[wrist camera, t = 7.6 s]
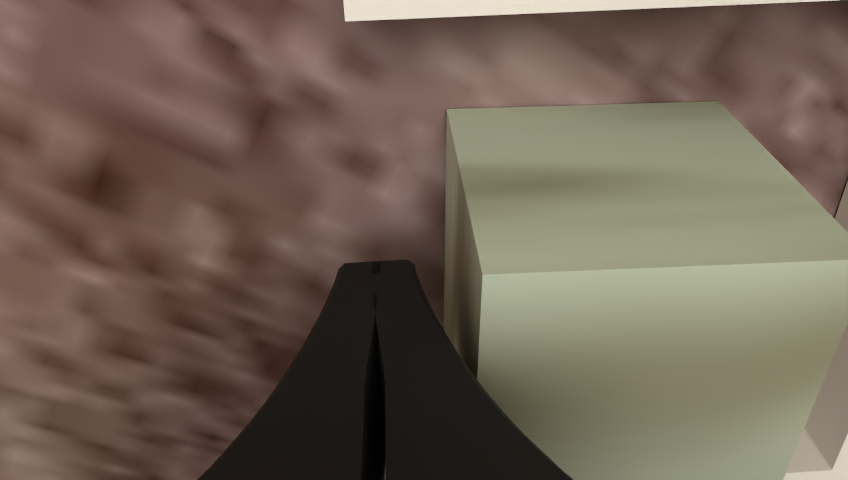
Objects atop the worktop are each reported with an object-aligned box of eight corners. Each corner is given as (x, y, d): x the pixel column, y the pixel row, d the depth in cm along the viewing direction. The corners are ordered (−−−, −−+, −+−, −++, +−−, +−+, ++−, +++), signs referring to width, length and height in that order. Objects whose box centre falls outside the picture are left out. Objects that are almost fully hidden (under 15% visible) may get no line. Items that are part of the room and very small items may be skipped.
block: (669, 312, 16) (772, 506, 12) (443, 322, 16) (469, 524, 12) (719, 101, 14) (873, 258, 9) (446, 109, 13) (482, 274, 9)
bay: (808, 412, 18) (863, 497, 16) (385, 438, 18) (387, 529, 16) (1009, -119, 12) (1147, -90, 10) (344, -95, 11) (338, -59, 9)
